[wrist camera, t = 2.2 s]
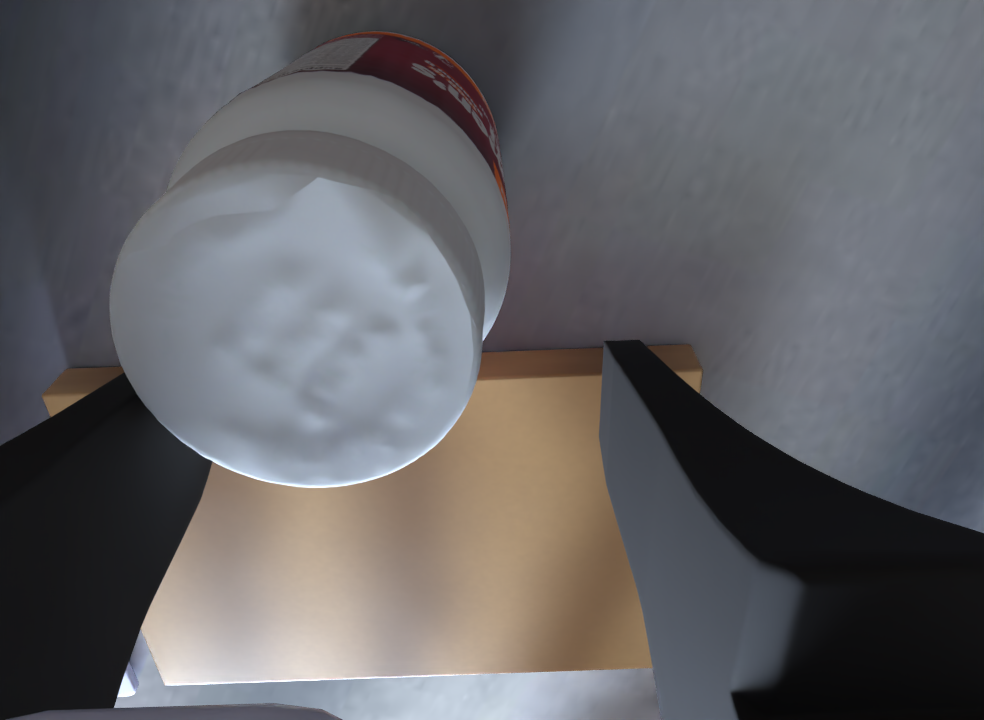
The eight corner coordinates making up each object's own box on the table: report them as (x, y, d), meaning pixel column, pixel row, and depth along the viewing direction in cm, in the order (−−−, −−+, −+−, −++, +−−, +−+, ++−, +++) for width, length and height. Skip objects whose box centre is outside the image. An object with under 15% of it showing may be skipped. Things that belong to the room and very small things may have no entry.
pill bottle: (537, 191, 21) (599, 416, 11) (355, 291, 22) (262, 572, 12) (421, -24, 18) (362, 13, 8) (222, 105, 19) (-38, 272, 9)
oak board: (178, 652, 31) (164, 686, 29) (65, 367, 24) (39, 395, 22) (656, 634, 31) (665, 668, 29) (691, 343, 23) (704, 369, 22)
